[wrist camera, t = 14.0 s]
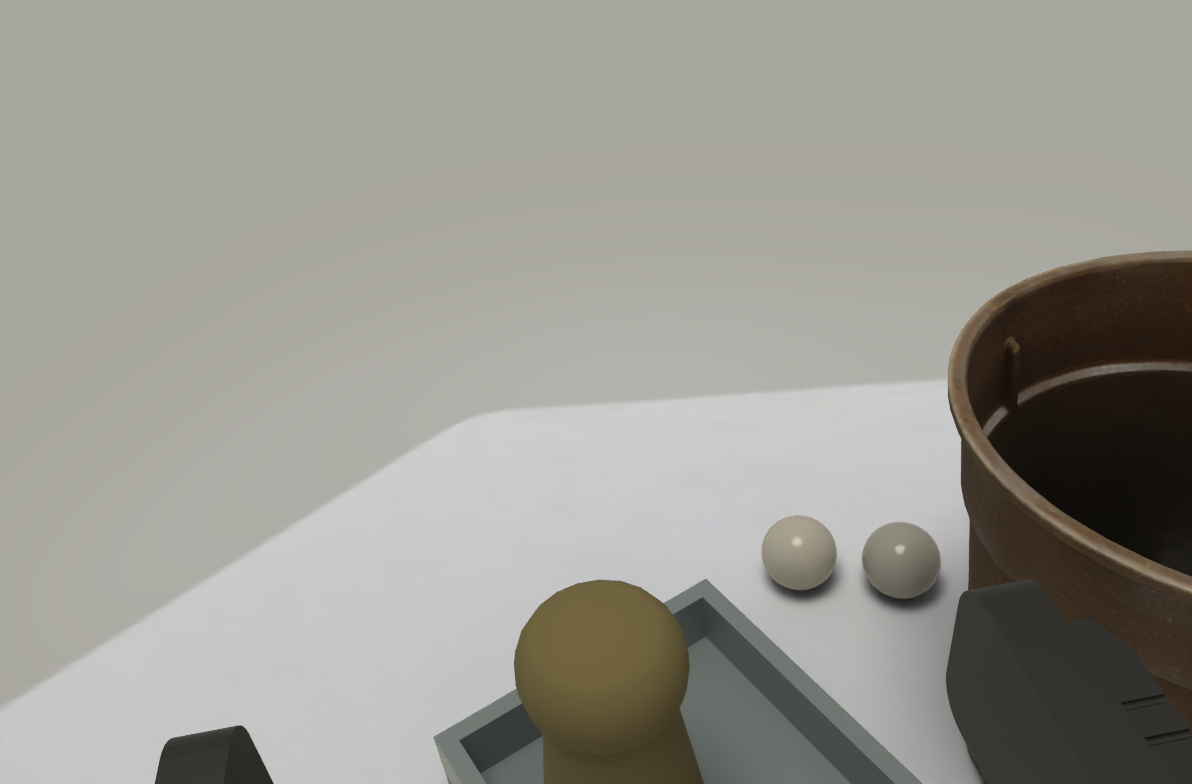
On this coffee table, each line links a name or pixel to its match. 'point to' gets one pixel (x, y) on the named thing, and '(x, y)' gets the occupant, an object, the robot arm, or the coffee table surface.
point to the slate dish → (705, 716)
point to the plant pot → (1087, 449)
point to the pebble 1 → (799, 552)
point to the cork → (607, 687)
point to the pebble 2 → (901, 560)
